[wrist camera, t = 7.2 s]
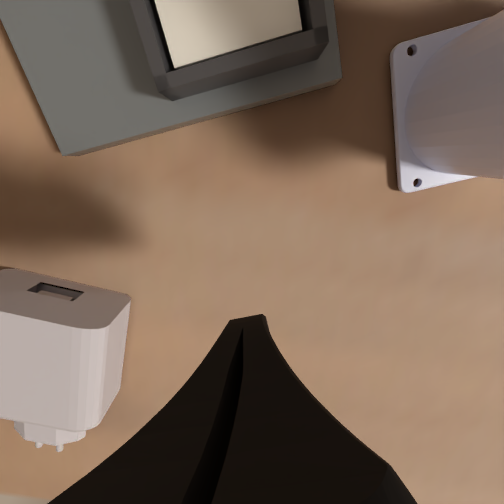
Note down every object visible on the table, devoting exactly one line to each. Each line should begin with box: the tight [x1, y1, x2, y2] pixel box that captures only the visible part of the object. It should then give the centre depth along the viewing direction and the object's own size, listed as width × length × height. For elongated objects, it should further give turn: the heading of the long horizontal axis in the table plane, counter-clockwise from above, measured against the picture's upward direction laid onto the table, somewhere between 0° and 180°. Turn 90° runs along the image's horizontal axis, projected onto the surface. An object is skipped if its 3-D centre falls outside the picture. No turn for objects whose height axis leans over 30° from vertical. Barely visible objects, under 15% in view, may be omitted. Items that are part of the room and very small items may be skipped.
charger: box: [0, 269, 131, 452], centre depth 20 cm, size 5×9×15 cm
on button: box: [155, 0, 302, 70], centre depth 12 cm, size 6×4×1 cm, turn 104°
